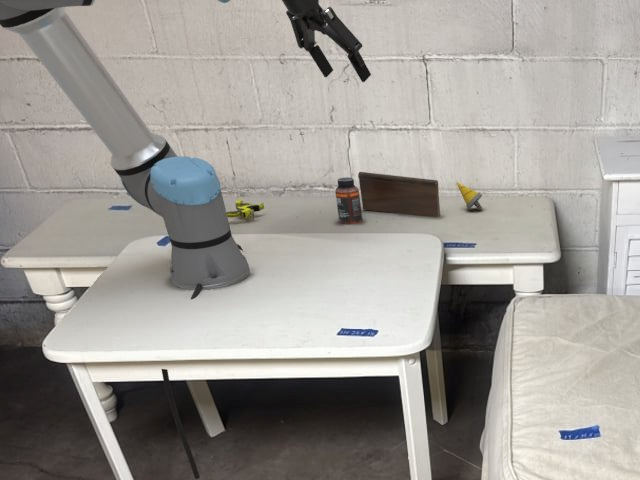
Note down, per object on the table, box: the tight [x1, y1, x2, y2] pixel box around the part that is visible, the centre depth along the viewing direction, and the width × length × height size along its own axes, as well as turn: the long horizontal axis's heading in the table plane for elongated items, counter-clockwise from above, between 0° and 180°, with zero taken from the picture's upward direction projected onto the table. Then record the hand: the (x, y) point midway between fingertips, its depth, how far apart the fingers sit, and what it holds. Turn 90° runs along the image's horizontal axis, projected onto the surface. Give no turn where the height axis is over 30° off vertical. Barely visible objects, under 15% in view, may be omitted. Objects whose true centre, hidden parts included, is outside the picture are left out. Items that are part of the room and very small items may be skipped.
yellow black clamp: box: [226, 198, 265, 220], centre depth 190 cm, size 12×4×7 cm
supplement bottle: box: [334, 176, 363, 226], centre depth 186 cm, size 6×6×11 cm
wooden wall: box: [357, 171, 441, 218], centre depth 193 cm, size 2×22×10 cm, turn 74°
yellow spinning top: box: [456, 182, 483, 210], centre depth 197 cm, size 5×5×10 cm
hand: (347, 76), depth 170 cm, fingers open, 13 cm apart
